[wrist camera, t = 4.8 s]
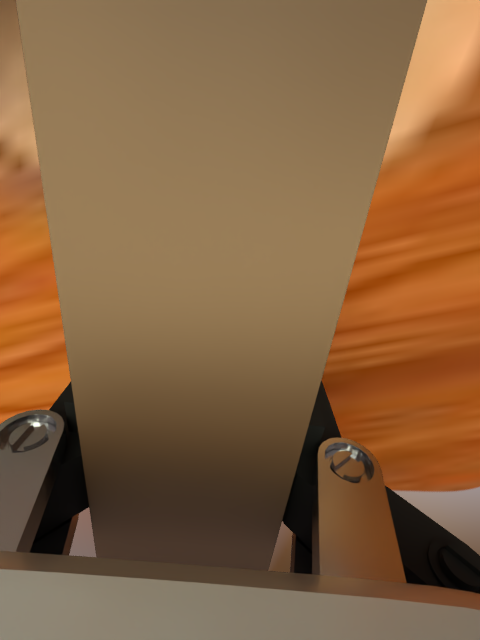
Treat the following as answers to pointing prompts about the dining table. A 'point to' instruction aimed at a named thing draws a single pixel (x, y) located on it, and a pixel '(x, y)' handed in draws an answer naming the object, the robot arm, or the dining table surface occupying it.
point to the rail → (205, 243)
